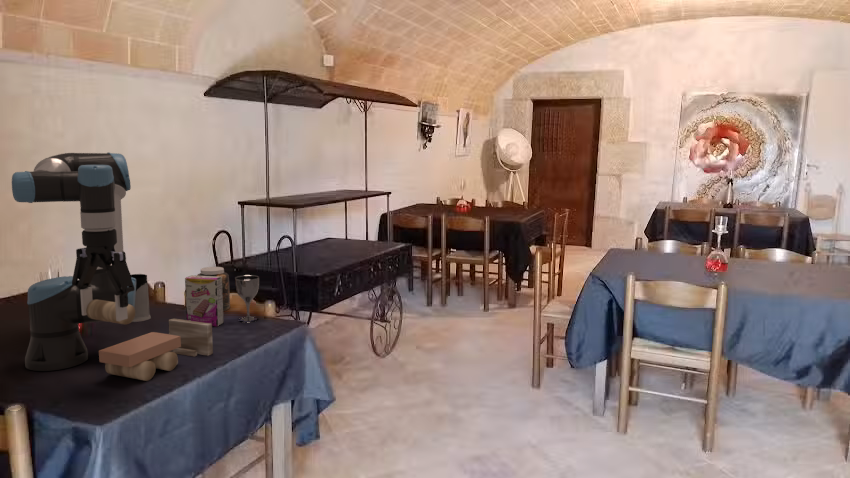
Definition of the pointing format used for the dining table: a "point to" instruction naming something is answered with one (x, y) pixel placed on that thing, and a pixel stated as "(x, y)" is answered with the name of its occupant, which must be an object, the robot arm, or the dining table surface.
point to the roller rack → (192, 343)
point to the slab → (139, 349)
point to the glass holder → (141, 298)
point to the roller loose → (108, 311)
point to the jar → (225, 282)
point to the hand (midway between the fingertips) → (104, 316)
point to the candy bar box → (204, 299)
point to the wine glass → (247, 290)
